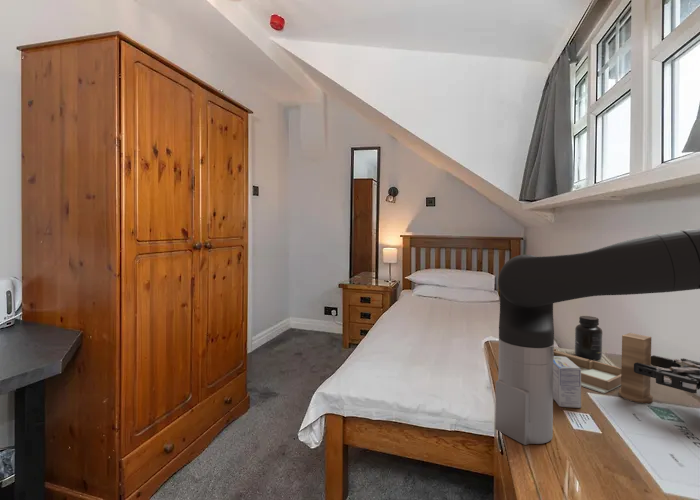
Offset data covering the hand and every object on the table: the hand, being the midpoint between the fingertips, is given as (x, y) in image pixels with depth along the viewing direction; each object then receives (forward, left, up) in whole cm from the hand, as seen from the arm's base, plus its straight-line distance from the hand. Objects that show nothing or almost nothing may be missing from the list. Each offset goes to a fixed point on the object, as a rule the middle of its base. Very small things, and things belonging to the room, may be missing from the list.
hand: (642, 363), depth 78 cm
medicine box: (-15, +9, -8) cm, 19 cm away
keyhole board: (+4, +15, -8) cm, 18 cm away
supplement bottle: (+20, +20, -8) cm, 30 cm away
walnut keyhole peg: (0, +1, -8) cm, 8 cm away
